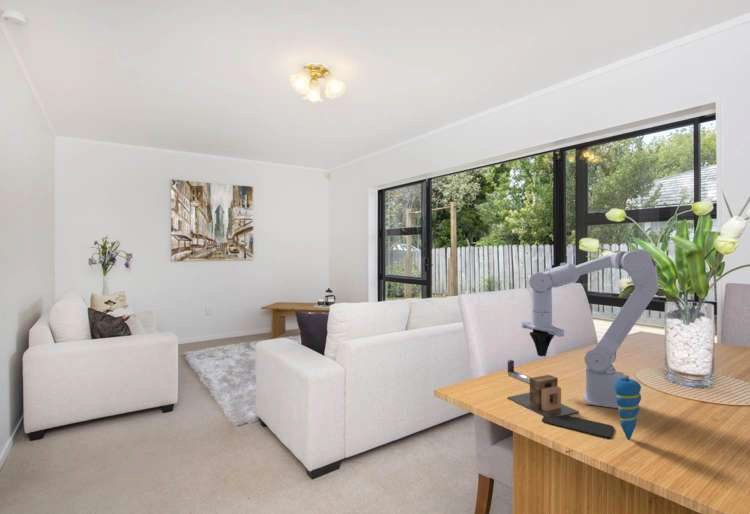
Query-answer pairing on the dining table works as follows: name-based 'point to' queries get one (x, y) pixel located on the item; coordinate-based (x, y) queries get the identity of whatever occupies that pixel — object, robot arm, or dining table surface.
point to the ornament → (628, 403)
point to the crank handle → (516, 374)
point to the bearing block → (539, 384)
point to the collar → (556, 398)
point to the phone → (581, 425)
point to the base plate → (525, 401)
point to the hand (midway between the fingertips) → (541, 355)
